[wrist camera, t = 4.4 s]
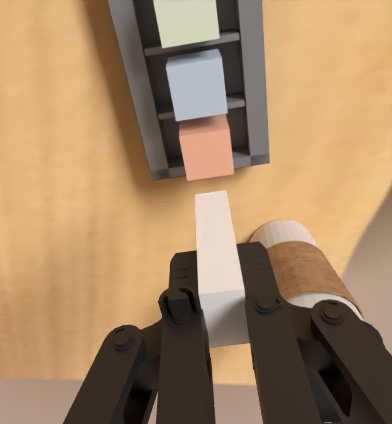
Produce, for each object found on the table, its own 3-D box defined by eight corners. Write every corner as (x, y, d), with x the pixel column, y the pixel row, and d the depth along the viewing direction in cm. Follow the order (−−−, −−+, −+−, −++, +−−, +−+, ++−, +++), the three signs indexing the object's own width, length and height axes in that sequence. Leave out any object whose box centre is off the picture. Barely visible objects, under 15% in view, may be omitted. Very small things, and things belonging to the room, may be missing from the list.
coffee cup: (256, 287, 38) (290, 442, 25) (220, 229, 34) (241, 380, 21) (334, 257, 36) (414, 409, 23) (307, 192, 32) (387, 334, 19)
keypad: (85, -123, 20) (74, -134, 18) (246, -156, 20) (253, -171, 18) (154, 166, 30) (152, 180, 28) (263, 149, 29) (269, 163, 27)
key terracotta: (179, 120, 25) (179, 136, 23) (225, 113, 25) (229, 128, 23) (187, 161, 27) (187, 181, 25) (229, 155, 27) (234, 174, 24)
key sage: (153, -20, 21) (149, -20, 18) (209, -31, 21) (212, -32, 18) (164, 40, 23) (162, 48, 20) (215, 31, 22) (219, 38, 20)
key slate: (168, 57, 23) (165, 67, 21) (218, 48, 23) (221, 57, 20) (177, 106, 25) (176, 121, 22) (223, 99, 25) (227, 113, 22)
